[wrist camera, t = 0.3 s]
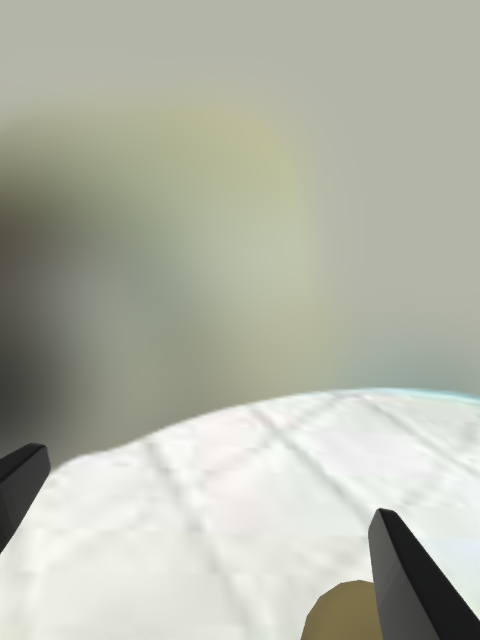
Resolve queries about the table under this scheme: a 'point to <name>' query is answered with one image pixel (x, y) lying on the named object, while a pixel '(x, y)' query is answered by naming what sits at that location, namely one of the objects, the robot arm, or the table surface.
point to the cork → (344, 614)
